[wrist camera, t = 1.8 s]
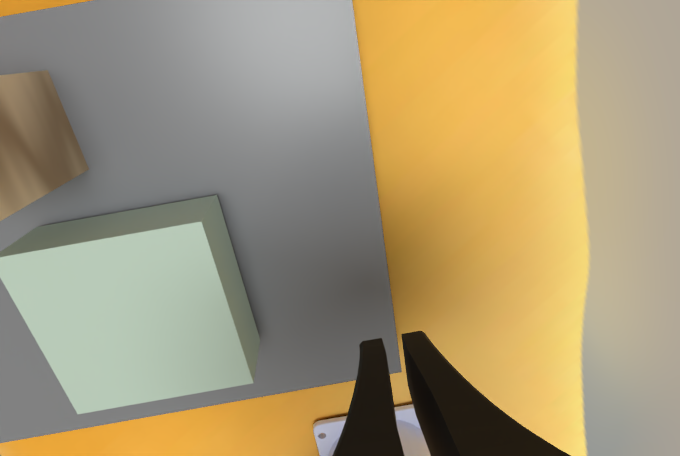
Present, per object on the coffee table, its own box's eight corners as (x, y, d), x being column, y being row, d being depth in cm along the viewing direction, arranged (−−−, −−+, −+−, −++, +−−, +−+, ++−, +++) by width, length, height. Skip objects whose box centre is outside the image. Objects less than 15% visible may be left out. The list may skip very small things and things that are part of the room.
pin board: (393, 342, 26) (401, 371, 24) (6, 411, 26) (-23, 447, 24) (341, -34, 18) (346, -45, 16) (-221, 66, 18) (-299, 70, 16)
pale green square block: (260, 340, 22) (253, 383, 19) (106, 367, 22) (77, 414, 19) (216, 194, 19) (201, 221, 16) (36, 226, 19) (-11, 258, 16)
